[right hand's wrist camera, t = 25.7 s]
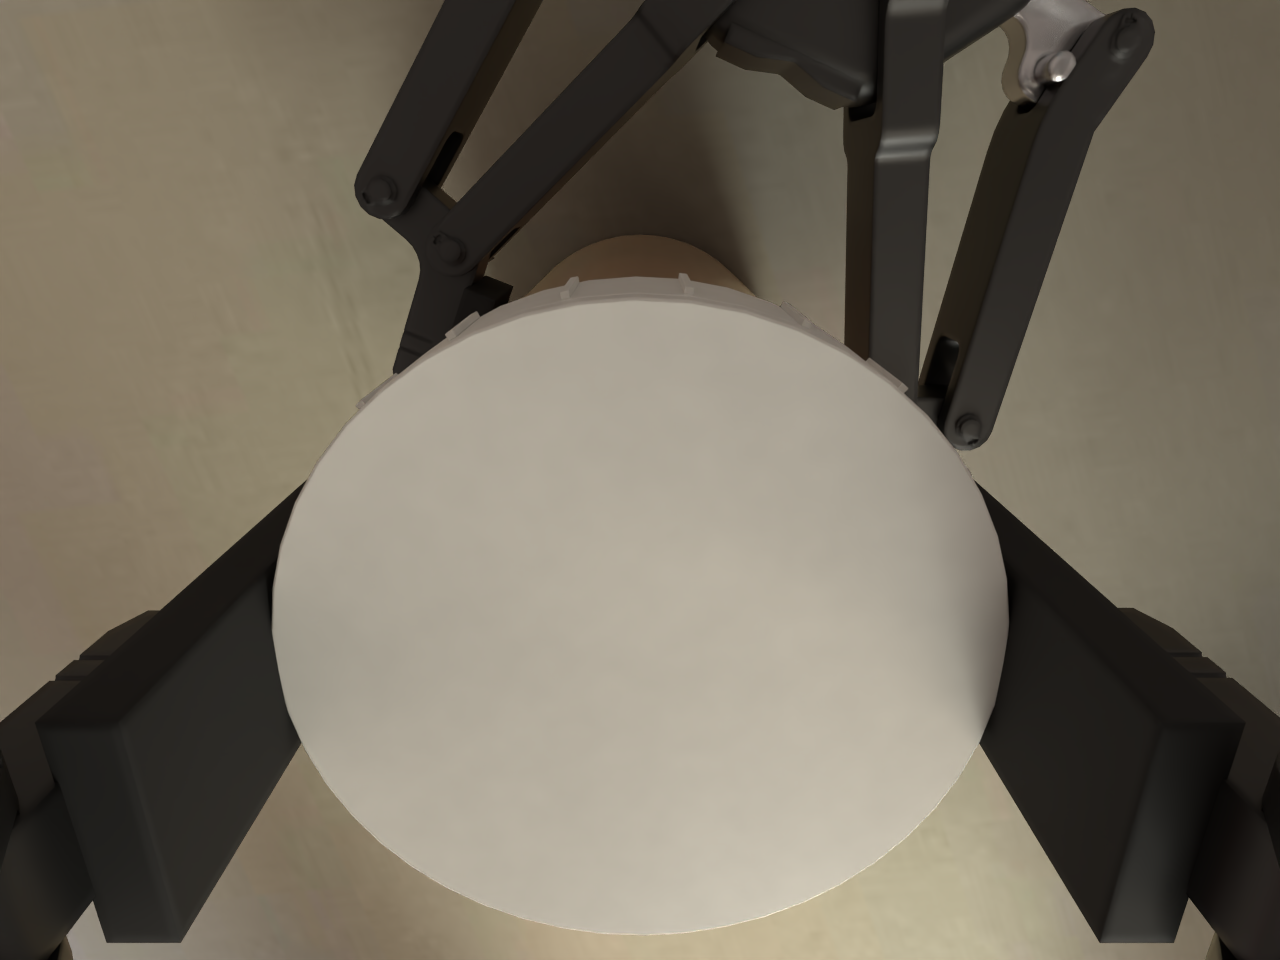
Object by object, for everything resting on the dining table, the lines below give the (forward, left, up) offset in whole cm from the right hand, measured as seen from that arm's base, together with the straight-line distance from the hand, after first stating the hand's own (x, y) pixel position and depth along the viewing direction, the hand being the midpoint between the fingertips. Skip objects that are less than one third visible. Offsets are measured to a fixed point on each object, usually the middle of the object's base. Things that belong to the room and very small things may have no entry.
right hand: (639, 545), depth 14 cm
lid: (0, 0, +3) cm, 3 cm away
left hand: (0, +5, -7) cm, 9 cm away
